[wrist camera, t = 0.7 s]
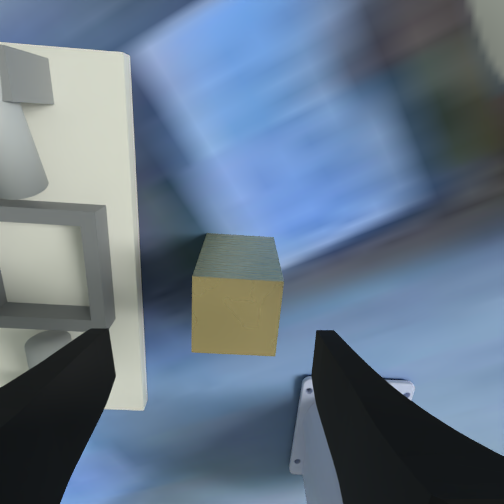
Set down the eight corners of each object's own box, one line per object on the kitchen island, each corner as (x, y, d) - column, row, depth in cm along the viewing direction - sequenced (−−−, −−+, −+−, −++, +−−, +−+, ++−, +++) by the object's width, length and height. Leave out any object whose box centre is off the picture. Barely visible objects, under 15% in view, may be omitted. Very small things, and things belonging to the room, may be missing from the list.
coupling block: (267, 295, 22) (275, 356, 17) (205, 292, 22) (191, 352, 16) (273, 237, 21) (283, 281, 15) (206, 233, 20) (192, 276, 15)
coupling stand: (147, 399, 25) (122, 470, 20) (6, 393, 25) (-56, 464, 20) (130, 55, 17) (81, 30, 12) (-80, 38, 17) (-221, 4, 12)
